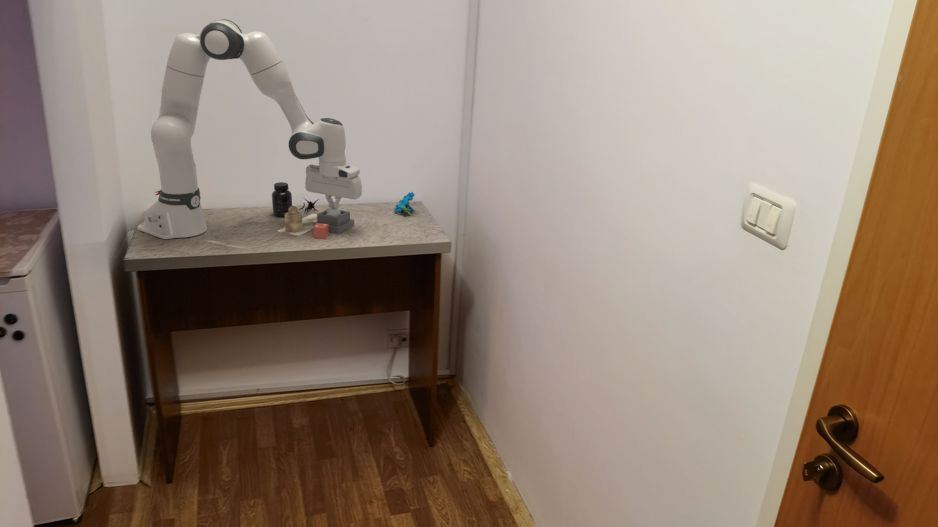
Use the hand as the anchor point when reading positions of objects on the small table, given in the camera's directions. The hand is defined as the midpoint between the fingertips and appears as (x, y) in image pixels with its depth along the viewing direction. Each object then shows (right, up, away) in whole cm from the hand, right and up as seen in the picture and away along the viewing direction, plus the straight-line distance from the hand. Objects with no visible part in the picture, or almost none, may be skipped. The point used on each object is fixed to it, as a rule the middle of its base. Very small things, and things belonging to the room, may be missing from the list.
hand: (333, 207), depth 242 cm
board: (-6, -7, +3) cm, 10 cm away
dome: (0, -4, +2) cm, 5 cm away
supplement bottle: (-21, -2, +13) cm, 25 cm away
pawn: (-13, -8, -2) cm, 15 cm away
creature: (-13, -1, +18) cm, 22 cm away
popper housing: (0, -7, +3) cm, 8 cm away
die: (-3, -10, -6) cm, 12 cm away
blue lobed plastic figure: (+22, 0, +24) cm, 32 cm away
